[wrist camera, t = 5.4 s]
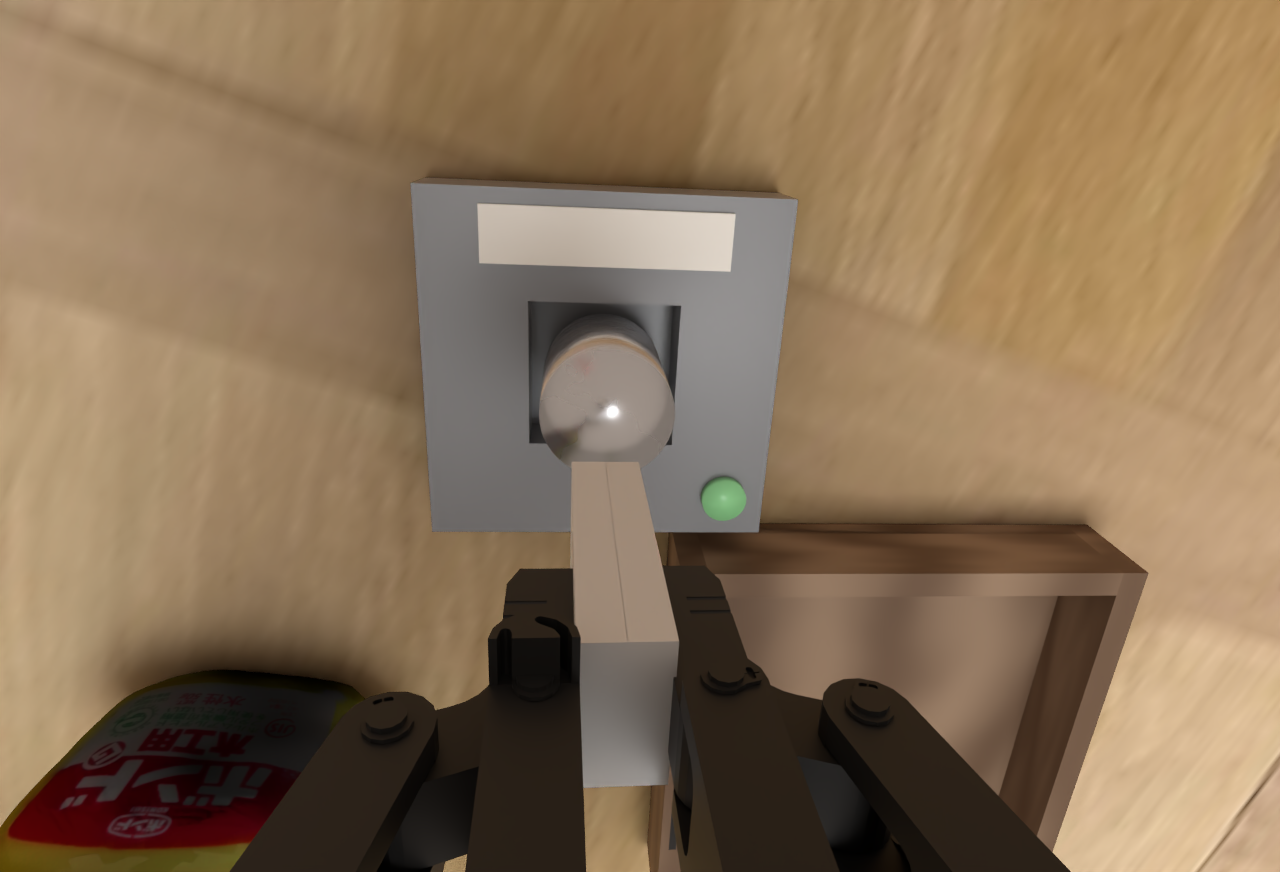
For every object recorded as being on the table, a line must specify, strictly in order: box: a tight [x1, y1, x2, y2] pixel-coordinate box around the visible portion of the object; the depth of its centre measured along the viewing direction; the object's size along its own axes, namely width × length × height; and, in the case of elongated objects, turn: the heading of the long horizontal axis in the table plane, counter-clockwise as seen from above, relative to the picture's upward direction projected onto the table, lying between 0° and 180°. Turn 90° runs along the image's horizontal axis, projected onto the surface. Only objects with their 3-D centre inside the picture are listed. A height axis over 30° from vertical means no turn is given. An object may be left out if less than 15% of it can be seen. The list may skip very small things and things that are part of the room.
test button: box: [539, 314, 675, 468], centre depth 25 cm, size 4×4×4 cm
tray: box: [647, 524, 1148, 872], centre depth 34 cm, size 18×18×4 cm
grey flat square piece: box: [411, 177, 798, 532], centre depth 27 cm, size 12×12×3 cm
